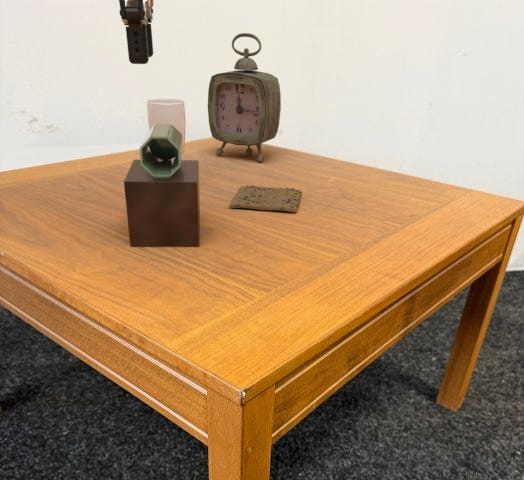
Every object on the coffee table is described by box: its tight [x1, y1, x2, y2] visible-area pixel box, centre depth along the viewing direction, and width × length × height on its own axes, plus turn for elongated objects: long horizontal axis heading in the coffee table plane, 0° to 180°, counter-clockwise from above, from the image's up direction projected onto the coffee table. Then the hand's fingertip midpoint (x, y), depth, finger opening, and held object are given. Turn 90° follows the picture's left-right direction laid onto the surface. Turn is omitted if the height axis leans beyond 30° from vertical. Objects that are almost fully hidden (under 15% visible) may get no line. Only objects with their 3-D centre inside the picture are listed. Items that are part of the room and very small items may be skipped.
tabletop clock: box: [207, 32, 282, 163], centre depth 121 cm, size 14×9×25 cm, turn 64°
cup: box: [139, 123, 183, 178], centre depth 79 cm, size 9×6×6 cm, turn 5°
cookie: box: [228, 185, 303, 214], centre depth 100 cm, size 12×12×1 cm
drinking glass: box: [146, 97, 186, 160], centre depth 103 cm, size 7×7×15 cm
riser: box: [123, 159, 201, 247], centre depth 83 cm, size 10×12×10 cm
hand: (142, 60), depth 67 cm, fingers open, 8 cm apart
